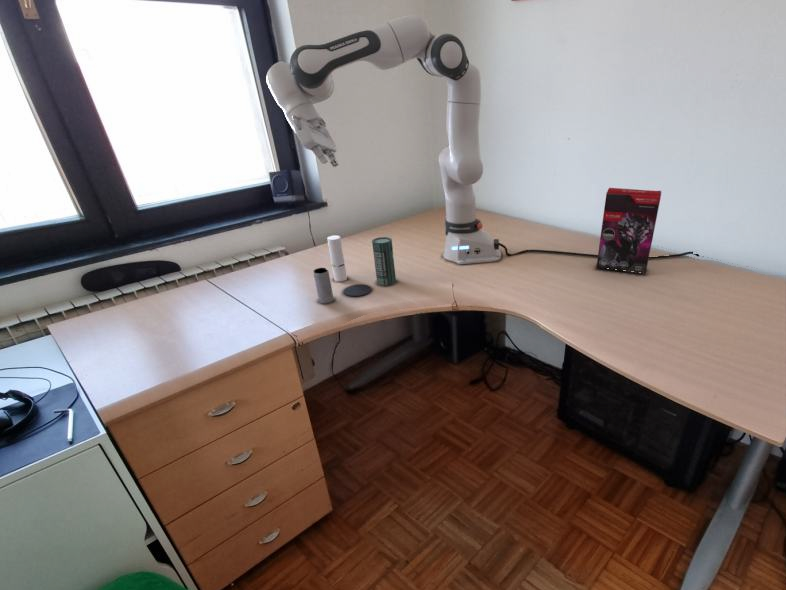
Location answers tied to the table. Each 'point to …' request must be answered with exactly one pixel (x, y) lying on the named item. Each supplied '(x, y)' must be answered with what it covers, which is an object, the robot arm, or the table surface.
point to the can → (384, 261)
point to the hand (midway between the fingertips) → (330, 164)
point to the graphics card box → (627, 229)
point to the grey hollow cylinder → (323, 285)
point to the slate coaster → (357, 290)
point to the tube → (337, 258)
